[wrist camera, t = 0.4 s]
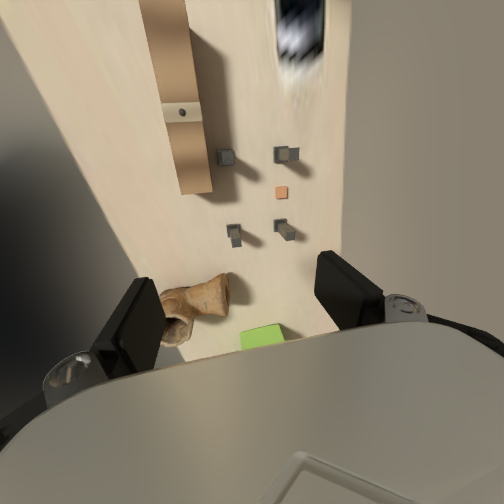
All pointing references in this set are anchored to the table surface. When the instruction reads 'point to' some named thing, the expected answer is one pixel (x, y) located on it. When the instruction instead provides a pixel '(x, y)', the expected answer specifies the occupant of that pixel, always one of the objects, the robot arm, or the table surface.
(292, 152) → the gray u-shaped bracket
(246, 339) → the gearbox
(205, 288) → the pipe
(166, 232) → the table surface
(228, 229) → the pair of grey posts
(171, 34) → the tan plank with band
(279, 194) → the brown flat block
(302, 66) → the table surface
